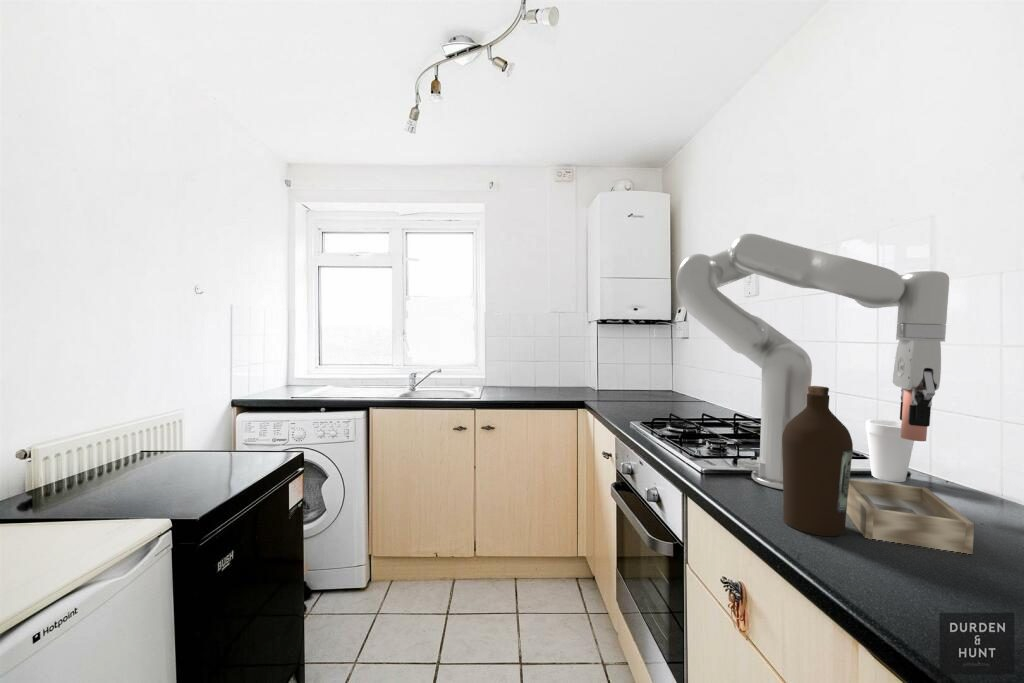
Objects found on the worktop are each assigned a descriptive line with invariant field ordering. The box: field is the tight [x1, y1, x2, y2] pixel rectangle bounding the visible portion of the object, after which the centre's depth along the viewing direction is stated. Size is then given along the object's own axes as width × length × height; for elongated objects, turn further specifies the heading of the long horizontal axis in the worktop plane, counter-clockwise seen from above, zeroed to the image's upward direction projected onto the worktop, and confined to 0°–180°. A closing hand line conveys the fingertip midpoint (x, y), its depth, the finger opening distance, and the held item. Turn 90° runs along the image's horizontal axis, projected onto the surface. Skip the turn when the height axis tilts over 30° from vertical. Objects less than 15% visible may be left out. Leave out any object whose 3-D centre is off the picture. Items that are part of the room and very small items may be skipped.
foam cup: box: [865, 419, 915, 483], centre depth 113 cm, size 10×9×13 cm
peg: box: [901, 387, 928, 442], centre depth 96 cm, size 4×4×12 cm
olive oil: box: [782, 385, 854, 537], centre depth 85 cm, size 11×11×25 cm
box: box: [846, 478, 975, 555], centre depth 86 cm, size 14×18×5 cm
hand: (914, 422), depth 97 cm, fingers closed on peg, 4 cm apart
